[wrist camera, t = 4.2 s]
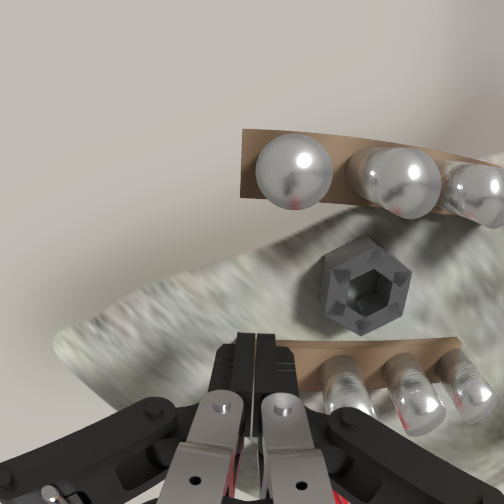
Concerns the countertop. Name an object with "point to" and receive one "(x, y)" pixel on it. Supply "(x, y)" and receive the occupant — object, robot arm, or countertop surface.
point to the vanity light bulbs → (403, 205)
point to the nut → (373, 304)
